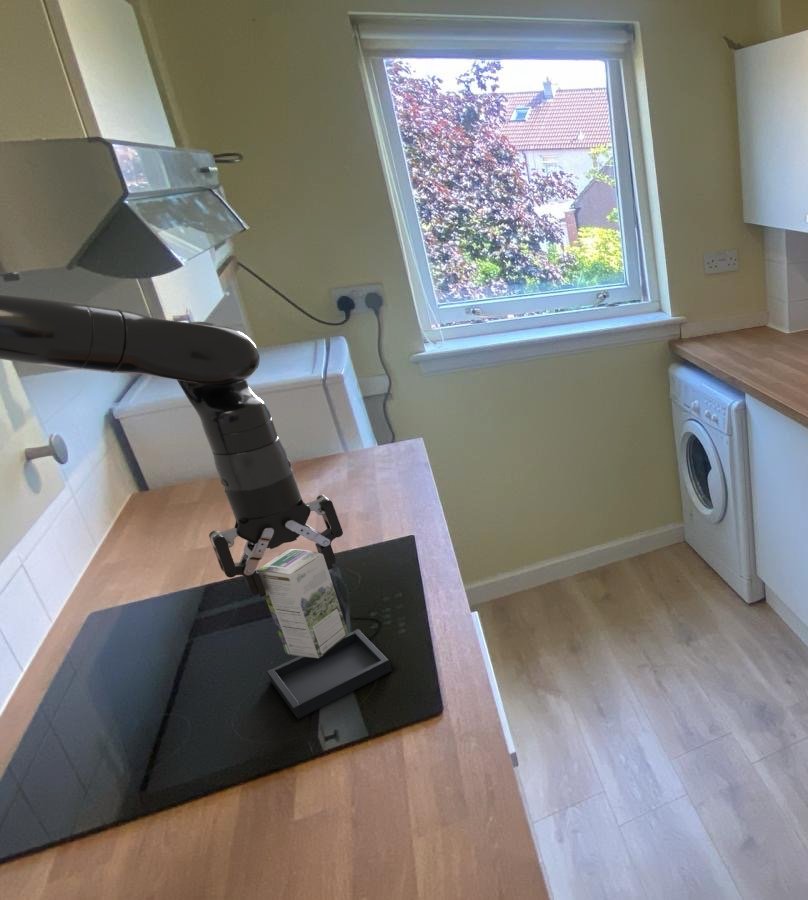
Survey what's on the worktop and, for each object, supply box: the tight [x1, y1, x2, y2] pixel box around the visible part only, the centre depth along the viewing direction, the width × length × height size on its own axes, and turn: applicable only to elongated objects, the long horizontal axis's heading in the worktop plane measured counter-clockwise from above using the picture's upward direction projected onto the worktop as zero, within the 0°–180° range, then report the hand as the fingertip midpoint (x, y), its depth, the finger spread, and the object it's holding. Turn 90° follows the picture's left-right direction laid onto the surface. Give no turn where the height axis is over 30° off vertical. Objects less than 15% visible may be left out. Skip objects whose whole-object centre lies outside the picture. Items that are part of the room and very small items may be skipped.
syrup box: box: [256, 548, 349, 658], centre depth 103 cm, size 6×6×14 cm
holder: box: [266, 628, 393, 720], centre depth 109 cm, size 13×12×2 cm
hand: (295, 580), depth 102 cm, fingers closed on syrup box, 7 cm apart
